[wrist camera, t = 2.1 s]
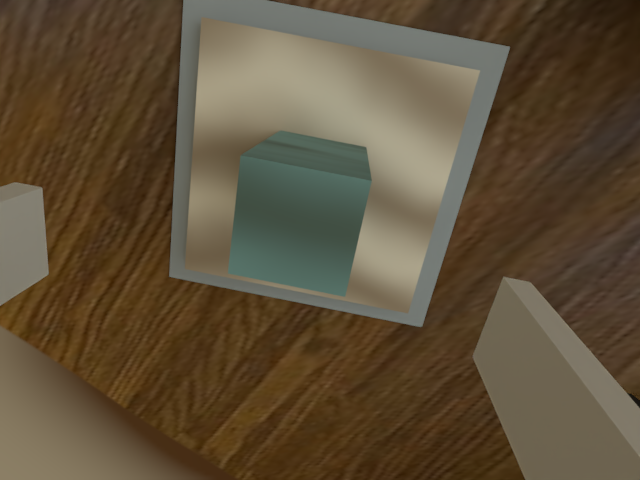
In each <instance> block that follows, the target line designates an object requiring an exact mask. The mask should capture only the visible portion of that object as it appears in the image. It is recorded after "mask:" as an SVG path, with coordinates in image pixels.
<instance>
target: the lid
mask: <svg viewBox="0 0 640 480" xmlns="http://www.w3.org/2000/svg"><path fill="white" fill-rule="evenodd" d="M479 73H480V70H475V69H470V68H465V67H459V66H454V65H449V64H444V63H438V62H433V61H428V60H423V59H418V58H412V57H407V56H402V55H397V54H392V53H386V52H381V51H376V50H371V49H365V48H360V47H355V46H350V45H345V44H339V43H334V42H329V41H324V40H319V39H313V38H308V37H303V36H298V35H292V34H287V33H282V32H277V31H272V30H266V29H261V28H256V27H251V26H246V25H240V24H235V23H230V22H225V21H219V20H214V19H209V18H204V17H201V32H200V47H199V62H198V77H197V92H196V107H195V122H194V138H193V153H192V168H191V183H190V198H189V213H188V228H187V243H186V258H185V269H187V270H192V271H197V272H202V273H207V274H212V275H217V276H222V277H227V278H232V279H237V280H243V281H248V282H253V283H258V284H263V285H268V286H273V287H278V288H283V289H288V290H293V291H298V292H303V293H308V294H313V295H318V296H323V297H328V298H333V299H338V300H343V301H348V302H353V303H358V304H363V305H368V306H373V307H378V308H383V309H388V310H393V311H398V312H403V313H408V312H409V309H410V305H411V302H412V299H413V295H414V292H415V289H416V285H417V282H418V279H419V275H420V272H421V268H422V265H423V262H424V258H425V255H426V252H427V248H428V245H429V242H430V238H431V235H432V231H433V228H434V225H435V221H436V218H437V215H438V211H439V208H440V204H441V201H442V198H443V194H444V191H445V188H446V184H447V181H448V178H449V174H450V171H451V167H452V164H453V161H454V157H455V154H456V151H457V147H458V144H459V141H460V137H461V134H462V130H463V127H464V124H465V120H466V117H467V114H468V110H469V107H470V104H471V100H472V97H473V93H474V90H475V87H476V83H477V80H478V77H479Z"/></svg>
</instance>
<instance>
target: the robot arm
mask: <svg viewBox="0 0 640 480" xmlns="http://www.w3.org/2000/svg"><path fill="white" fill-rule="evenodd" d="M48 274H49V271H48V258H47V245H46V231H45V218H44V205H43V191H42V187H37V186H32V185H27V184H22V183H16V182H15V183H12V184H8V185H5V186H2V187H0V306H1V305H2V304H4V303H5V302H7V301H8V300H10V299H11V298H13V297H15V296H16V295H18V294H19V293H21V292H22V291H24V290H25V289H27V288H28V287H30V286H32V285H33V284H35V283H36V282H38V281H39V280H41V279H42V278H44V277H45V276H47V275H48ZM473 359H474V362H475V364H476V366H477V368H478V371H479V373H480V375H481V378H482V380H483V382H484V385H485V387H486V389H487V392H488V394H489V396H490V399H491V401H492V403H493V406H494V408H495V410H496V413H497V415H498V417H499V420H500V422H501V424H502V427H503V429H504V431H505V434H506V436H507V438H508V441H509V443H510V445H511V448H512V450H513V452H514V455H515V457H516V459H517V462H518V464H519V466H520V469H521V471H522V473H523V476H524V478H525V480H640V400H638V399H637V398H636V397H634V396H633V395H632V394H628V393H626V392H625V391H624V389H623V388H622V387H621V386H620V385H619V384H618V383H617V381H616V380H615V379H614V378H613V377H612V376H611V374H610V373H609V372H608V371H607V370H606V369H605V368H604V366H603V365H602V364H601V363H600V362H599V361H598V359H597V358H596V357H595V356H594V355H593V354H592V353H591V351H590V350H589V349H588V348H587V347H586V346H585V345H584V343H583V342H582V341H581V340H580V339H579V338H578V336H577V335H576V334H575V333H574V332H573V331H572V330H571V328H570V327H569V326H568V325H567V324H566V323H565V322H564V320H563V319H562V318H561V317H560V316H559V315H558V313H557V312H556V311H555V310H554V309H553V308H552V307H551V305H550V304H549V303H548V302H547V301H546V300H545V299H544V297H543V296H542V295H541V294H540V293H539V292H538V290H537V289H536V288H535V287H534V286H533V285H532V284H531V282H527V281H522V280H517V279H512V278H506V277H503V279H502V281H501V284H500V287H499V289H498V292H497V294H496V297H495V300H494V302H493V305H492V307H491V310H490V313H489V315H488V318H487V320H486V323H485V325H484V328H483V331H482V333H481V336H480V338H479V341H478V344H477V346H476V349H475V351H474V354H473Z"/></svg>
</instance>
